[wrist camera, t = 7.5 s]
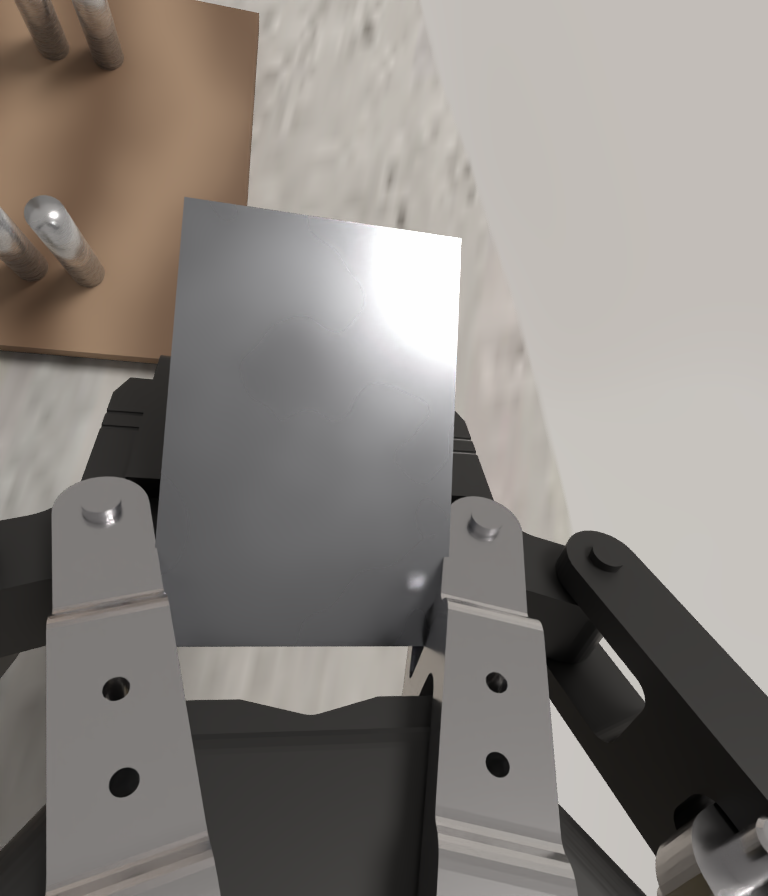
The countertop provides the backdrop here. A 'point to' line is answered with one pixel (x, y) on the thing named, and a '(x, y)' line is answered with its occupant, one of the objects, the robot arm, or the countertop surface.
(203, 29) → the pin tray
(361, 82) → the countertop surface
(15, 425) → the countertop surface
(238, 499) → the plate
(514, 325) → the countertop surface
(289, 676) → the countertop surface
